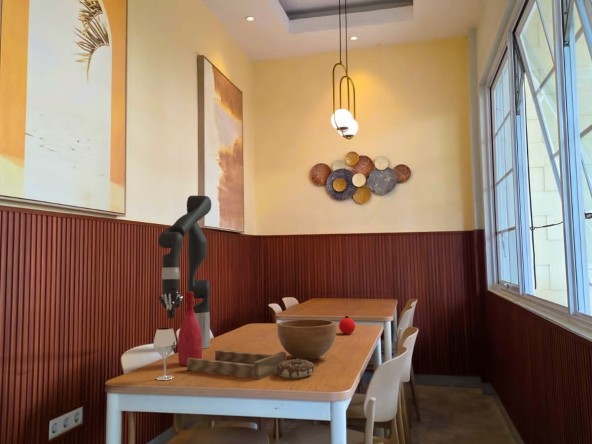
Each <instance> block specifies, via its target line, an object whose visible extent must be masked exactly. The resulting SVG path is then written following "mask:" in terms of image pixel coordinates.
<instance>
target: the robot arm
mask: <svg viewBox="0 0 592 444" xmlns="http://www.w3.org/2000/svg"><path fill="white" fill-rule="evenodd" d="M211 209H212V200H211V198H210V197H209V196H208V195H207V196H206V195H189V196H188V197H187V200H186V213H185V214H183V215H182V216H180V217H179V218H177V220H176V221H175V222H174V223H173V225H171V226H169V227H168V228H166V229H165V230H163V231H162V232H161V233H160V234H159V236H158V239H157V243H158V245H159V247H160V248H162V249H170V252H169V253H166V254H163V255H162V259H161V260H162V265H161V266H162V267H161V269H162V270H161V289H162V290H163V291H162V294H161V296H158V301H160V303H161V305H162V307H163V308H164V309H166V310H167V311H166V312H167V314H166V315H167V319H169V320H170V319H174V318H175V316H176V315H175V313H176V312H175V309H178V308H179V307H180V305H181V303H183V300H184V296H182V295H181V294H180V291H179V290H180V287H181V282H180V281H181V277H180V273H181V272H180V256H181V251H182V247H183V244H184V238H183V237H185V236H186V235H188V237H187V239H188V241H187V255H188V257H187V258H188V260H187V261H188V272H187V273H188V275H187V291H186V292H188V291H192V292H193V293H194V300H195V299H202V300H201V301H200V302H198V303H197V304H195V305H194V304H193V310H194V313H195V317H196V320H197V322H198V324H199V326H200V329H201V333H202V349H207V348H208V349H209V348H210V347H211V331H210V330H211V327H210V326H211V325H210V324H211V323H210V322H211V319H210V318H211V317H210V316H211V315H210V313H211V312H210V295H211V293H210V292H211V286H210V285H211V284H210V281H209V279H195V277H196V274H197V272H198V270H199V267H200V266H201V264H202V263H203V261H204V260H205V258H206V256H207V254H208V240H207V237H206V235H205V233H204V232H203V230H202V229H201V227H200V225H199V221H200V220H202V218H204V217H205V216H206V215H208V214H209V213H210V211H211ZM187 233H188V234H187Z"/></svg>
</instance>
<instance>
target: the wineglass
mask: <svg viewBox="0 0 592 444" xmlns="http://www.w3.org/2000/svg"><path fill="white" fill-rule="evenodd" d="M175 333H176V332H175V330H174V327H170V326H169V327H159V328H157V329H156V331H155V335H154V339H153V348H154V350H155V351H156V353H158V354H159V355H160V356H162V358H163V375H160V376H157V377H156V379H157V380H156V379H155V380H156V381H159V380H165V381H171V380H173V379H174V378H175V376H173V375H167V359H168V356H170V355H171V354H172V353H173V352H174V350H175V349H176V347H177V345H178V341H177V339H176V338H177V337H176V334H175ZM172 378H173V379H172ZM170 379H171V380H170Z"/></svg>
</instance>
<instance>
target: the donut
mask: <svg viewBox="0 0 592 444" xmlns="http://www.w3.org/2000/svg"><path fill="white" fill-rule="evenodd" d="M314 369H315V364H314V363H313V362H312V361H310V360H303V359H298V358H295V359H294V358H293V359H288V360H287V359H286V360H285V361H283V362H280V363H279V364H278V365H277V372H276V375H278V376H279V377H282V378H286V379H300V378H306V377H309V376H310V375H312V374H313V373H314Z"/></svg>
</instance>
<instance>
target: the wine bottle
mask: <svg viewBox="0 0 592 444" xmlns="http://www.w3.org/2000/svg"><path fill="white" fill-rule="evenodd" d="M194 302H195V299H194V293H193V292H192V291H186V293H185V303H186V311H185V313H184V315H185V316H184V318H183V321H182V323H181V326H180V328H179V331H178V336H177V338H178V339H177V356H178V357H177V358H178V364H179V365H180V366H185V367H187V359H188V358H197V359H203V348H202V333H201V329H200V326H199V324H198V322H197V320H196V317H195V313H194V310H193V306H194Z"/></svg>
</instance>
